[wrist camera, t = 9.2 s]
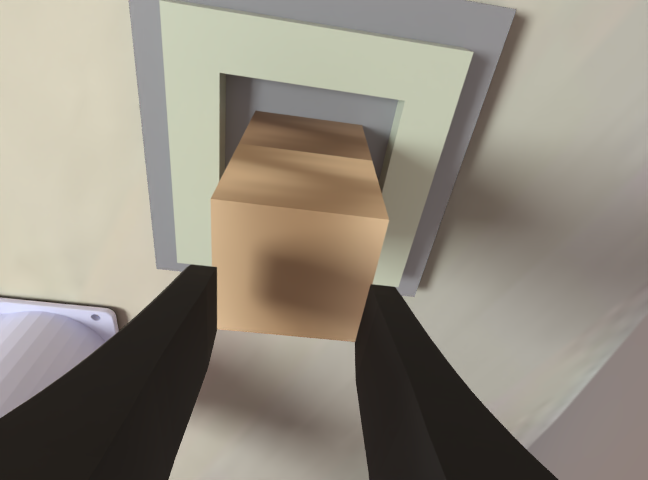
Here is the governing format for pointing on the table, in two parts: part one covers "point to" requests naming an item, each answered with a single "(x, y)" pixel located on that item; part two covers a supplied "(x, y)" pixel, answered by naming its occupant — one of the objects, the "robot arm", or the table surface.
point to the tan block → (297, 229)
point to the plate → (312, 102)
